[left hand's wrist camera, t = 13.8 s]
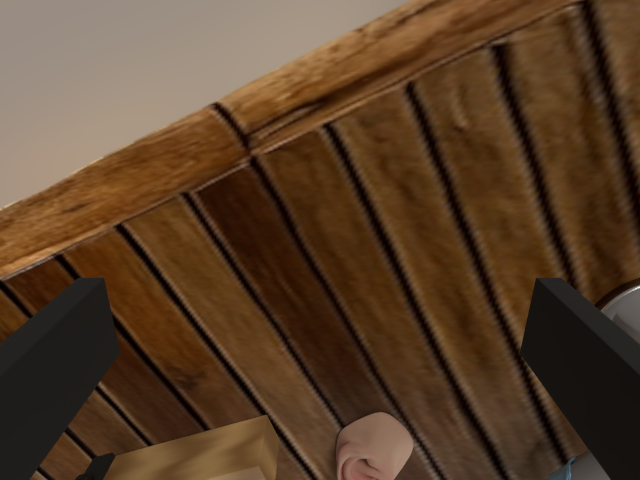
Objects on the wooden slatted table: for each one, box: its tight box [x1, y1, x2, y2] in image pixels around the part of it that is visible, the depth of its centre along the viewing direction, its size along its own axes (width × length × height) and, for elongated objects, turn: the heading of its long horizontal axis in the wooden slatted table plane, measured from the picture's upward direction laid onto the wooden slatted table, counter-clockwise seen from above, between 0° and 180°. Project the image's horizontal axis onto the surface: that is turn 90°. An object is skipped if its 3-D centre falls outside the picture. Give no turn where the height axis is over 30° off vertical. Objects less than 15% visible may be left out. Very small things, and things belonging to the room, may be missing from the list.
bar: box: [103, 415, 280, 480], centre depth 55 cm, size 24×5×8 cm, turn 109°
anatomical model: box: [336, 412, 413, 480], centre depth 56 cm, size 13×4×12 cm
